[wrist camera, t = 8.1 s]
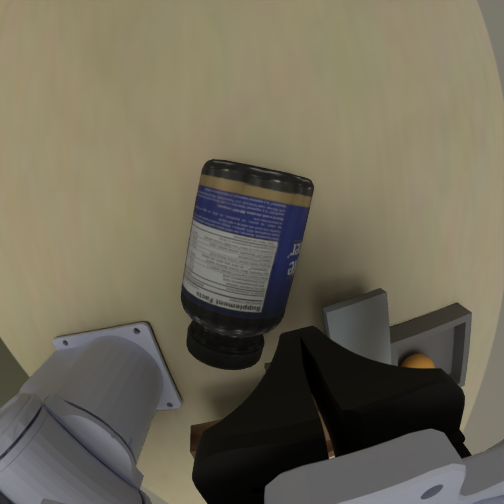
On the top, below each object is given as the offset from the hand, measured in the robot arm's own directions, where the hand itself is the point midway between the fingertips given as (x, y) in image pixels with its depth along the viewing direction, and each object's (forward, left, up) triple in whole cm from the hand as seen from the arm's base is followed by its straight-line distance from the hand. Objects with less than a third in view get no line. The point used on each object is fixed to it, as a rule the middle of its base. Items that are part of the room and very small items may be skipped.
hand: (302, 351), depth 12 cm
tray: (+10, -10, -10) cm, 17 cm away
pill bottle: (0, +7, -7) cm, 10 cm away
